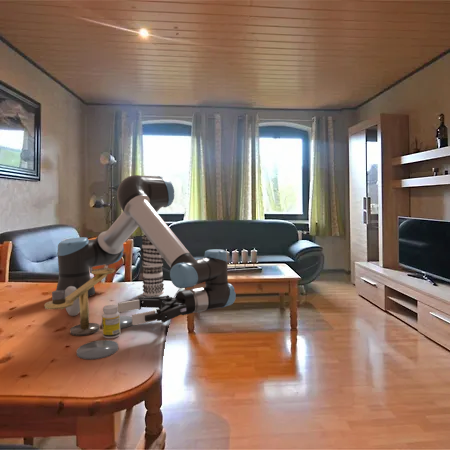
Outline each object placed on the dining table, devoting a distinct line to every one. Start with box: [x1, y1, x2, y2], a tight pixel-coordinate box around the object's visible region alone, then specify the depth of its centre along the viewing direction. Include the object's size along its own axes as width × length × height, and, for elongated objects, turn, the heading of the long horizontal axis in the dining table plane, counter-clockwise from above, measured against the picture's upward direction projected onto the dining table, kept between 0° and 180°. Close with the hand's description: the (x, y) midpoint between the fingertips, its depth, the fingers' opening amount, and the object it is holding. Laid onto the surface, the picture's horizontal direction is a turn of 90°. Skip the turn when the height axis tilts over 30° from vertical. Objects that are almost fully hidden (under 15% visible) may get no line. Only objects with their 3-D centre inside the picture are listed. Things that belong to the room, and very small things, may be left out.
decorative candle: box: [140, 233, 165, 297], centre depth 147 cm, size 9×9×25 cm
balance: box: [44, 267, 116, 337], centre depth 104 cm, size 8×26×16 cm, turn 162°
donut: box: [65, 286, 80, 317], centre depth 119 cm, size 10×4×10 cm, turn 40°
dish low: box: [76, 339, 119, 361], centre depth 90 cm, size 10×10×1 cm
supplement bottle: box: [101, 304, 121, 339], centre depth 101 cm, size 5×5×8 cm
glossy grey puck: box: [101, 315, 133, 330], centre depth 111 cm, size 10×10×1 cm
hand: (124, 313), depth 102 cm, fingers open, 13 cm apart
